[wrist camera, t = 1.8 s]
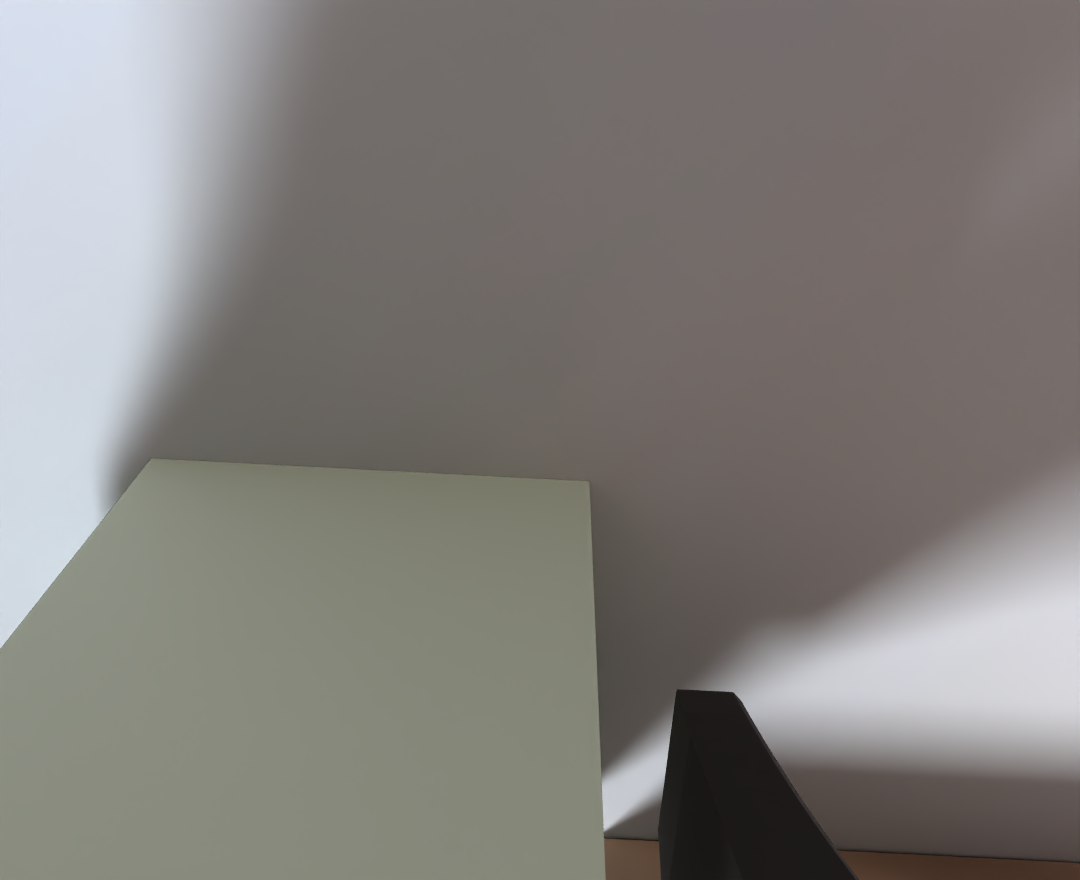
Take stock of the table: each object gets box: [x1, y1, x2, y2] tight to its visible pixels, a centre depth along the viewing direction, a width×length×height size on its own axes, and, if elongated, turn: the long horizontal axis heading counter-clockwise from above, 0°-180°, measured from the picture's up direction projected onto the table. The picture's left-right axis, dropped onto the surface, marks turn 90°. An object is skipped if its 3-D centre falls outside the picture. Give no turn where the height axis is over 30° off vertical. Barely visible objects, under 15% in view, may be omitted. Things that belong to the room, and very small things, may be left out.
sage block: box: [0, 458, 606, 880], centre depth 10 cm, size 5×5×6 cm
